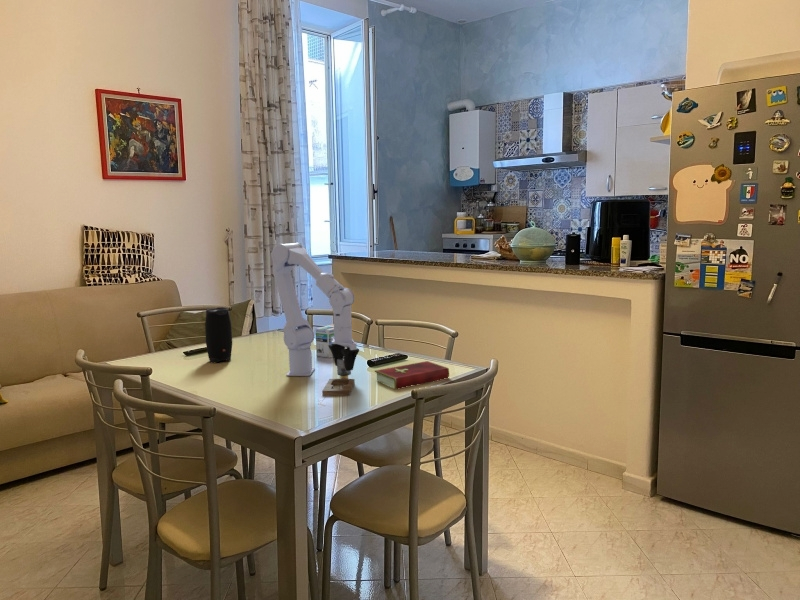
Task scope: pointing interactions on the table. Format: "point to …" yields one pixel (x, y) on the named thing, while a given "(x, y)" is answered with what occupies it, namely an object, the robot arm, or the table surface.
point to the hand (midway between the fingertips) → (344, 367)
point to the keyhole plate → (345, 391)
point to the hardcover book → (412, 374)
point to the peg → (342, 369)
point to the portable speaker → (218, 334)
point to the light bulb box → (324, 340)
